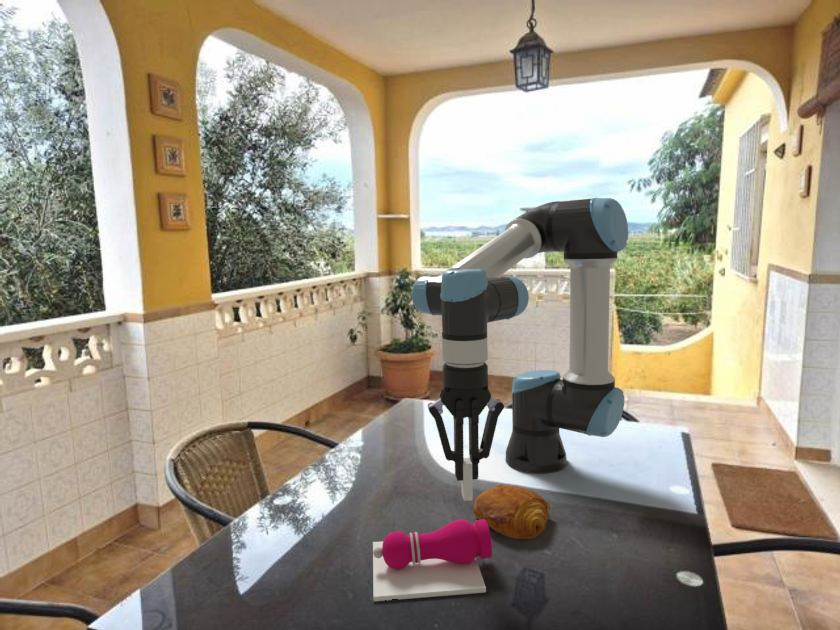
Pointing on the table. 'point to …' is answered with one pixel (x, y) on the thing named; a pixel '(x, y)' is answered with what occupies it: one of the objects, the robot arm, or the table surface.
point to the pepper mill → (438, 545)
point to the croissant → (513, 511)
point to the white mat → (425, 579)
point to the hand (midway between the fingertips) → (467, 496)
